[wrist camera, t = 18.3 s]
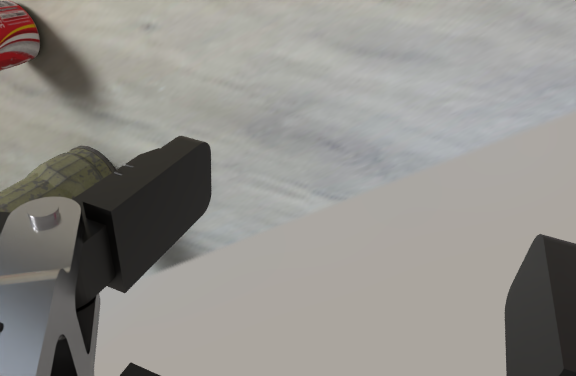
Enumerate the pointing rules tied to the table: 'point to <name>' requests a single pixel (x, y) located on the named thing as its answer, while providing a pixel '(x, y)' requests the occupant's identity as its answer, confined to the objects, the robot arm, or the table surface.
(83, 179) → the thermos
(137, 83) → the table surface
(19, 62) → the soda can
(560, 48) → the table surface
